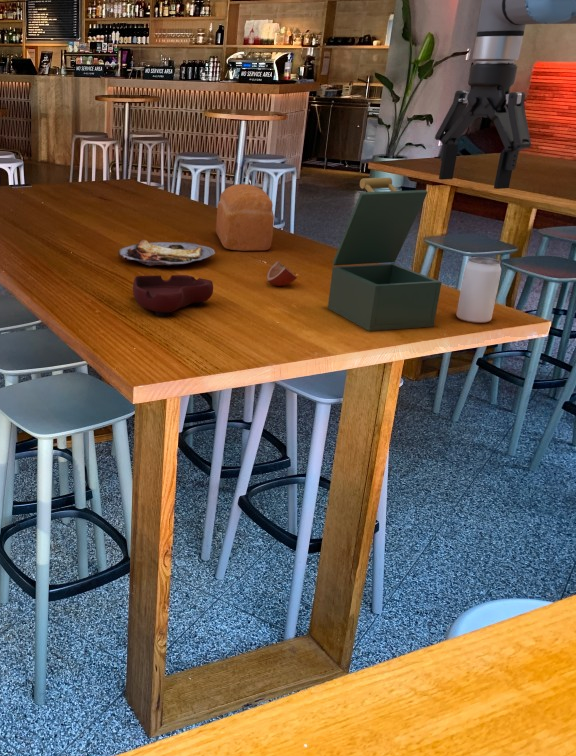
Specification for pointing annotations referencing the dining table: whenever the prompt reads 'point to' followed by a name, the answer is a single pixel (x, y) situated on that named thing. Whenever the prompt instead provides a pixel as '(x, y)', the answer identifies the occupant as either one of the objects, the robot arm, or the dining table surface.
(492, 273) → the can
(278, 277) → the fruit slice
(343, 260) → the lid
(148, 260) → the food plate
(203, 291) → the ashtray
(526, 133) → the robot arm
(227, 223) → the bread
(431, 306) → the chest
